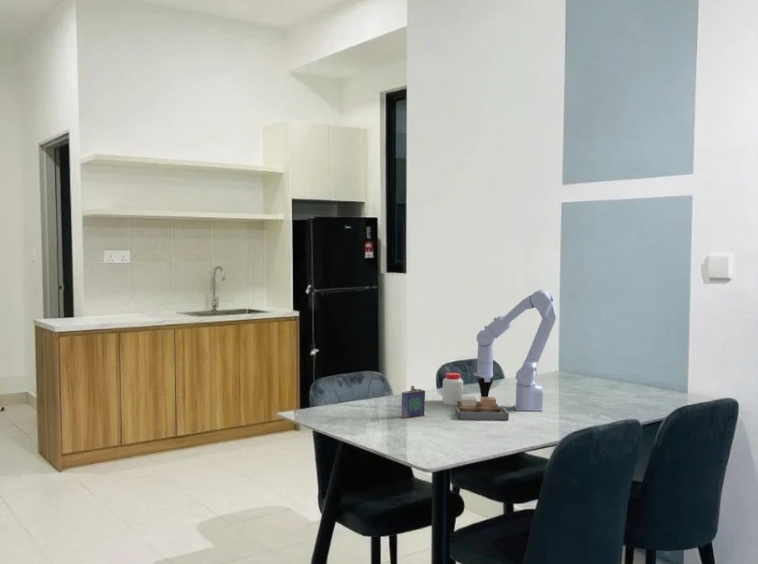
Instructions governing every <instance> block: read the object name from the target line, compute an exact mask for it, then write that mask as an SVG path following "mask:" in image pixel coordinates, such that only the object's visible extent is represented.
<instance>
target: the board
mask: <svg viewBox="0 0 758 564" xmlns="http://www.w3.org/2000/svg"><path fill="white" fill-rule="evenodd" d="M456 407H458V408H459V410H460V412H485V413H501V408H500V407H499V405H498V404H497V403H496V407H484V406H481V404H480V401H477V400H476V406H462V405H461V401H457V405H456Z"/></svg>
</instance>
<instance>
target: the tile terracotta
mask: <svg viewBox="0 0 758 564" xmlns="http://www.w3.org/2000/svg"><path fill="white" fill-rule="evenodd" d="M496 401H497V399H496V398H495V396H488V397H481V396H479V402H480V404H481V406H484V407H496V404H497V402H496Z"/></svg>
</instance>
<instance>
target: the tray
mask: <svg viewBox="0 0 758 564" xmlns="http://www.w3.org/2000/svg"><path fill="white" fill-rule="evenodd" d="M456 414H457V415H456ZM455 415H456V417H457V419H458V421H509V419H510V415H509V412H508V410H507V409H506V408H505V407H502V412H500V413H485V412H460V410H459V408H458V407H457V406H456V407H455Z"/></svg>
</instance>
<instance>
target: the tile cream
mask: <svg viewBox="0 0 758 564" xmlns="http://www.w3.org/2000/svg"><path fill="white" fill-rule="evenodd" d="M476 401H477V399H476V397H475V396H464V395H463V396H461V405H462V406H476Z"/></svg>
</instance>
